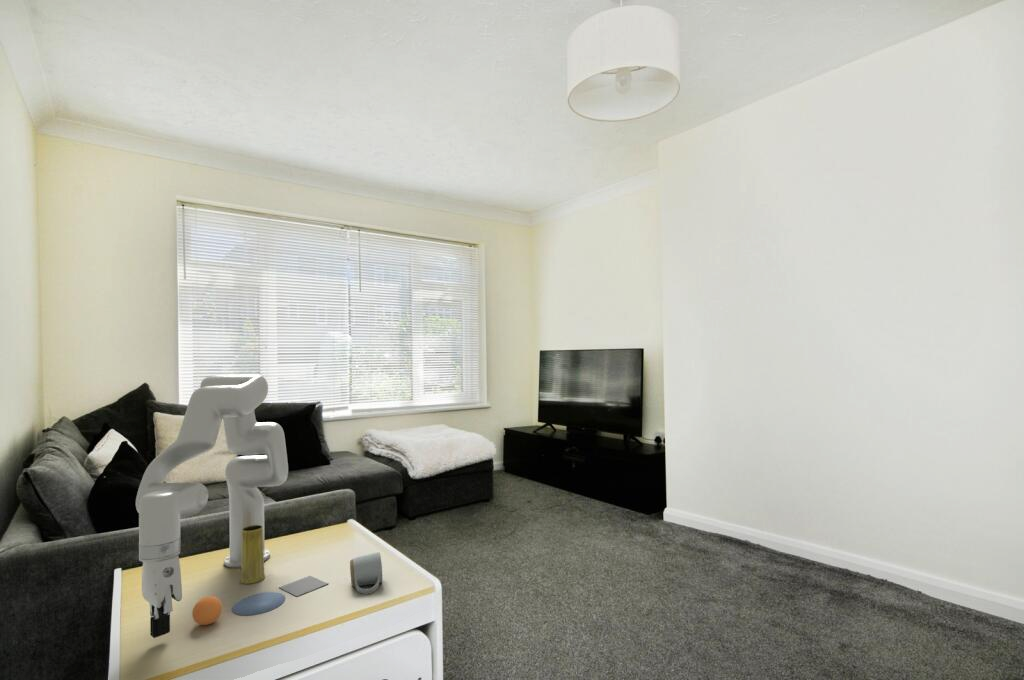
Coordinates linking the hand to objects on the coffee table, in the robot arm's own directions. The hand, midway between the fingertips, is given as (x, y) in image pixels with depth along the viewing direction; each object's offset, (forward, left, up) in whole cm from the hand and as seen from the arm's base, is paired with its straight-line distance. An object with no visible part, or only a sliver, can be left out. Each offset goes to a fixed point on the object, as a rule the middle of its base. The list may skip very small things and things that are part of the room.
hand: (160, 634), depth 113 cm
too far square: (0, +34, -2) cm, 34 cm away
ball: (0, +10, +1) cm, 10 cm away
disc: (0, +22, -2) cm, 22 cm away
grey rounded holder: (+14, +44, -2) cm, 46 cm away
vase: (-16, +28, -2) cm, 32 cm away
